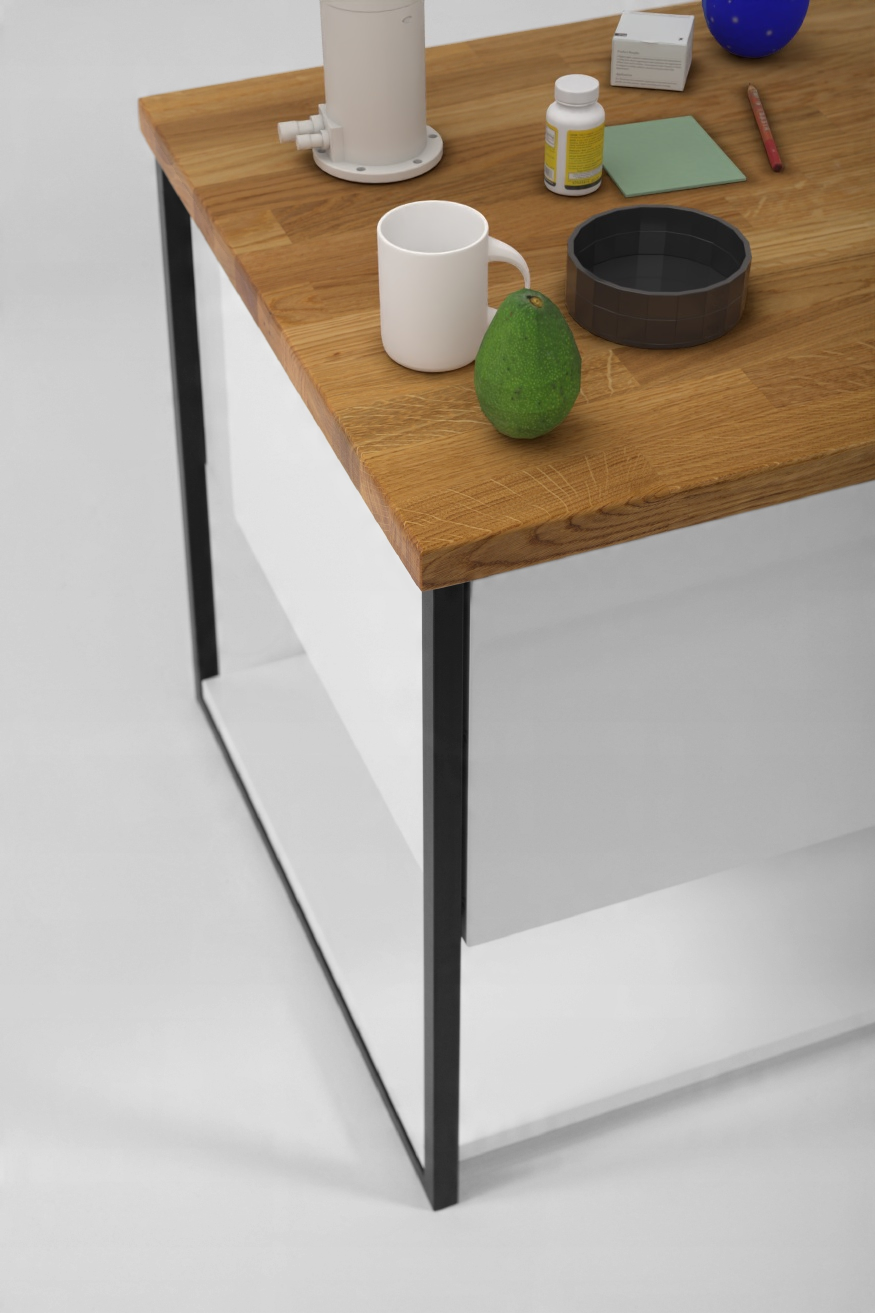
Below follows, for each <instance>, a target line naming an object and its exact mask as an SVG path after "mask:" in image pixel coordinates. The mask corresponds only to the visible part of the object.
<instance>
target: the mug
mask: <svg viewBox="0 0 875 1313" xmlns="http://www.w3.org/2000/svg"><path fill="white" fill-rule="evenodd" d="M489 227H490V226H489V223H488V219H486V217H485V216H484V215H483V214H482V213H481V212H480V211H478V210H477V209H475V208H473V207H471V206H469V205H466V204H464V203H461V202H455V201H449V200H438V199H437V200H435V199H434V200H433V199H432V200H429V199H428V200H420V201H412V202H409V203H404V204H401V205H399V206H396V207H395V208H392V209H390V210H388V211H387V212H386V213H384V214H383V215H382V216H381V218H380V219H379V221H378V223H377V227H376V238H377V239H376V240H377V264H378V265H377V266H378V289H379V290H378V292H379V294H378V295H379V315H380V316H379V317H380V318H379V319H380V335H381V336H380V337H381V341H382V346H383V349H384V351H385V353H386V354H387V355H388V356H389V358H390V359H391V360H393V361H394V362H395V363H397V364H398V365H400V366H402V367H405V368H407V369H410V370H413V371H418V372H423V373H424V372H425V373H444V372H450V371H455V370H458V369H461V368H464V367H465V366H468V365H469V364H471V363H473V362H475V358H476V355H477V353H478V350H479V347H480V345H481V342H482V340H483V337H484V335H485V333H486V331H487V329H488V327H489V325H490V323H491V321H492V320H493V318H494V316H495V314H496V312H497V310H498V308H495V307H494V308H493V307H490V306H489V304H488V303H489V263H491V262H500V263H506V264H509V265H511V266H513V267H515V268H517V270H518V271H519V272H520V273H521V275H522V276H523V281H524V288H527V289H531V274H530V269H529V267H528V263H527V262H526V260H525V259H524V257H523V256H522V254H521V253H520V252H518V250H516V249H515V248H514V247H512V246H511V245H509V244H507V243H506V242H504V241H501V240H500V239H497V238H495V237H493V236H491V235H489V234H490V233H489V232H490V231H489V230H490V229H489Z"/></svg>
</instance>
